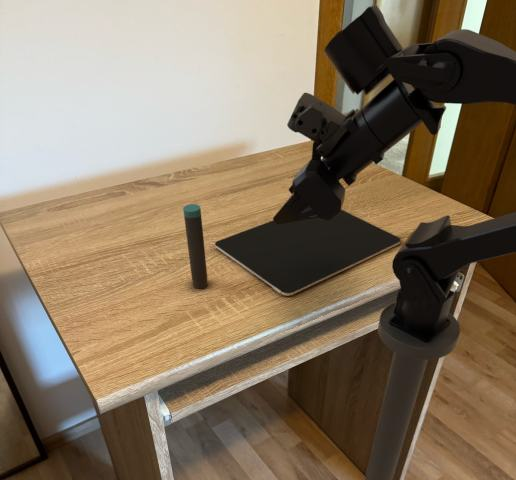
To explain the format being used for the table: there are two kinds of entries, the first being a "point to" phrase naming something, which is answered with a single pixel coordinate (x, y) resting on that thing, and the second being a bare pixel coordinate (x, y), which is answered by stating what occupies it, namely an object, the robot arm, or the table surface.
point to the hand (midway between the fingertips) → (283, 206)
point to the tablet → (305, 249)
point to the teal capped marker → (195, 245)
